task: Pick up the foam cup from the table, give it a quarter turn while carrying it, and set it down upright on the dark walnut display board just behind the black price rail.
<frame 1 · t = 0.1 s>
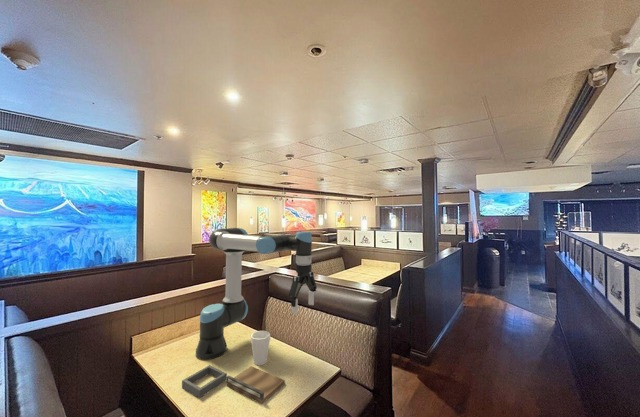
hand: (303, 308, 123), 28 cm above the table, fingers open, 13 cm apart
foam cup: (260, 361, 127), on the table
shelf board: (255, 384, 110), on the table
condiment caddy: (204, 383, 110), on the table
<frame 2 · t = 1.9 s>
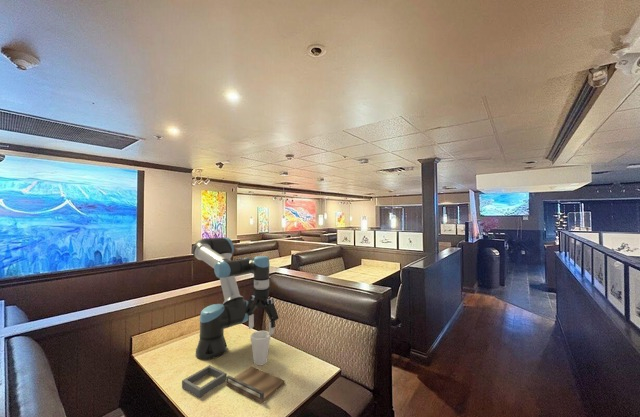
hand: (261, 331, 128), 15 cm above the table, fingers open, 13 cm apart
nothing on the table moved.
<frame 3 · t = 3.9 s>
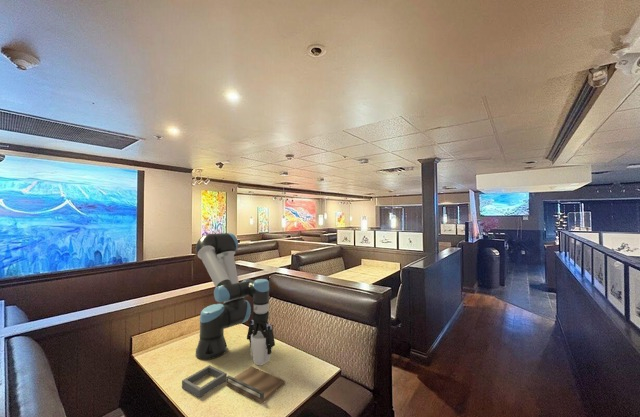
hand: (260, 357, 128), 2 cm above the table, fingers closed on foam cup, 9 cm apart
foam cup: (260, 361, 127), on the table, touching gripper
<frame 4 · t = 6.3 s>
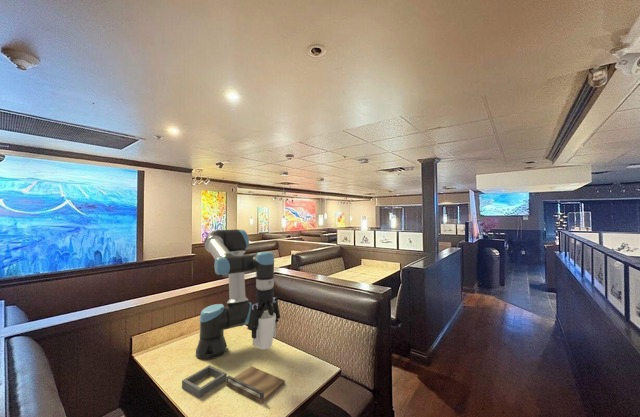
hand: (264, 340, 111), 18 cm above the table, fingers closed on foam cup, 9 cm apart
foam cup: (264, 346, 111), point 16 cm above the table, touching gripper
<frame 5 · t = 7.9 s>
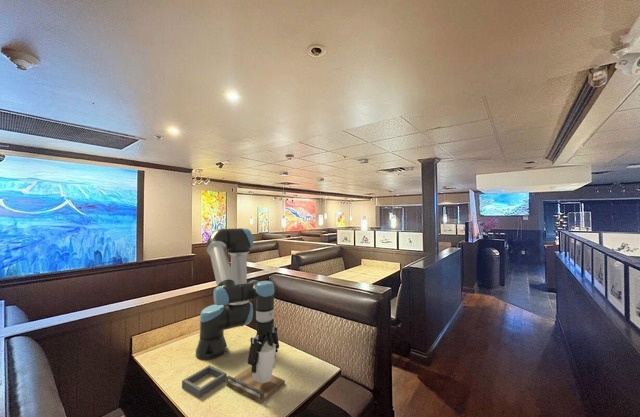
hand: (264, 373, 108), 6 cm above the table, fingers closed on foam cup, 9 cm apart
foam cup: (264, 378, 108), point 4 cm above the table, touching gripper
when the fingers open (5 cm above the table, at t = 8.8 s): foam cup drops 2 cm, resting on shelf board.
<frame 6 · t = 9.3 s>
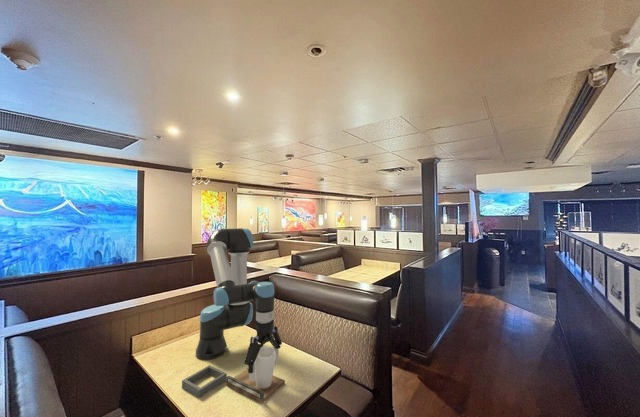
hand: (264, 371, 108), 7 cm above the table, fingers open, 13 cm apart
foam cup: (263, 384, 108), point 1 cm above the table, touching shelf board
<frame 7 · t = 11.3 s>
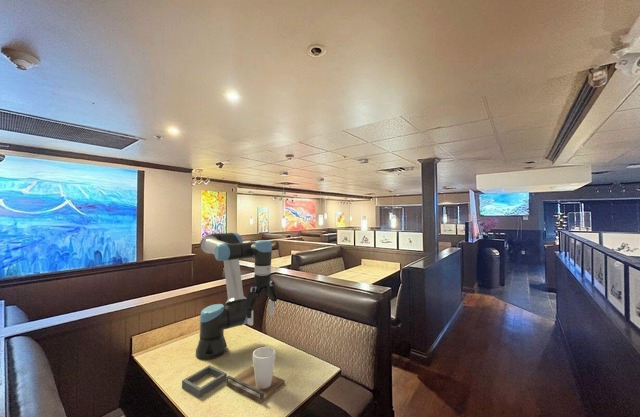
hand: (261, 319, 120), 24 cm above the table, fingers open, 13 cm apart
nothing on the table moved.
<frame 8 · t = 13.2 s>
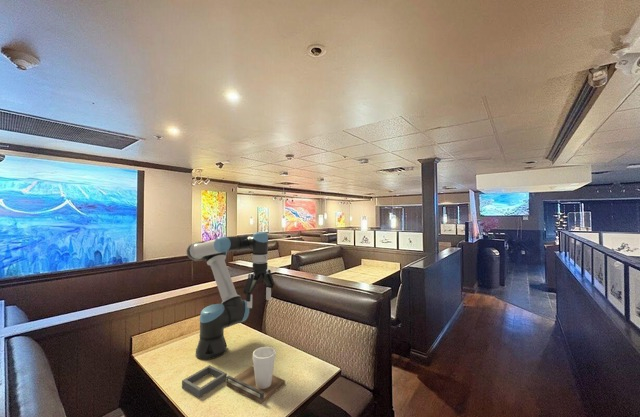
hand: (259, 303, 133), 27 cm above the table, fingers open, 13 cm apart
nothing on the table moved.
at the end: foam cup inside the target area on the shelf board (3.5 cm from its centre), point 1.3 cm above the shelf board's base; foam cup tilted 0°; the gripper is holding nothing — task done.
